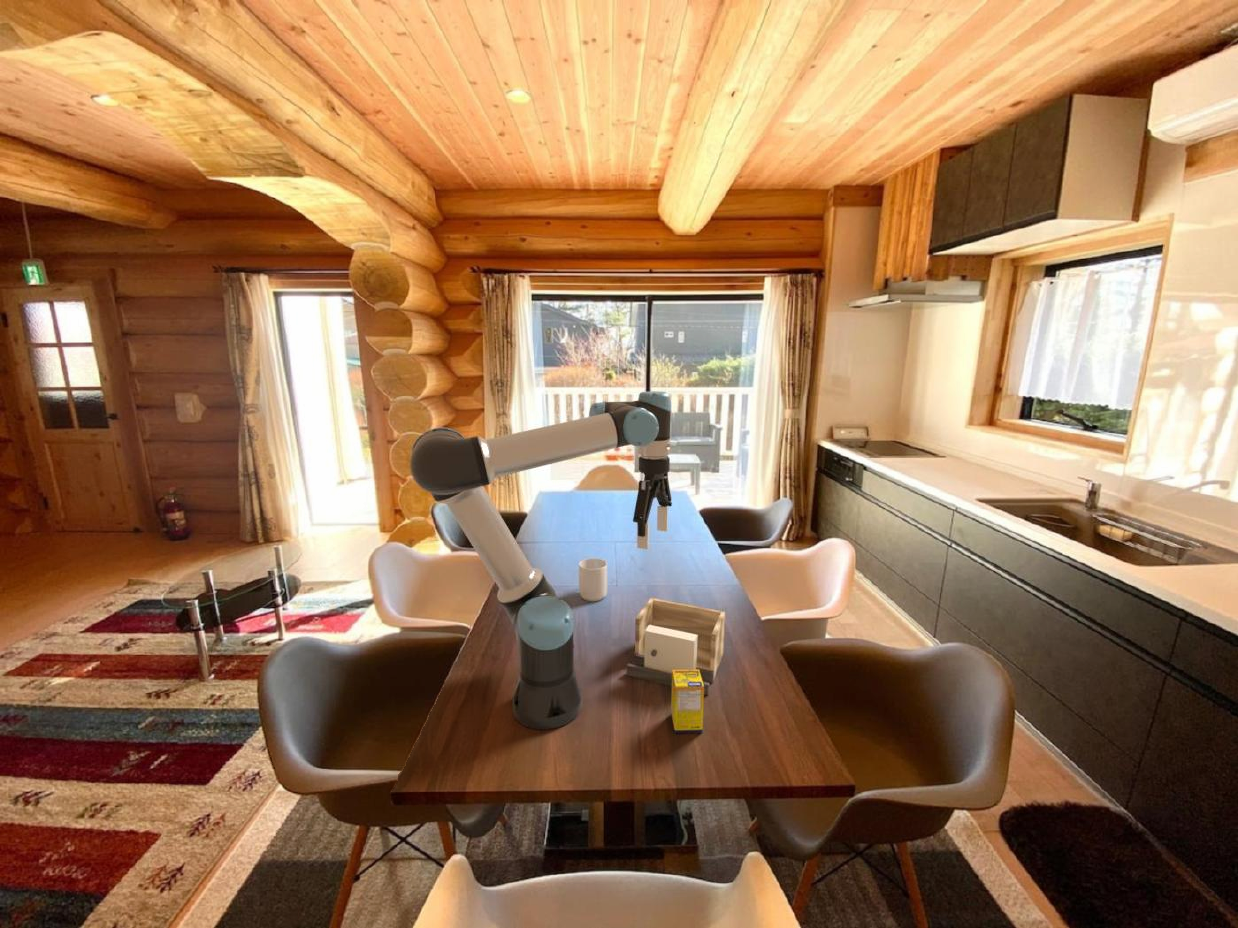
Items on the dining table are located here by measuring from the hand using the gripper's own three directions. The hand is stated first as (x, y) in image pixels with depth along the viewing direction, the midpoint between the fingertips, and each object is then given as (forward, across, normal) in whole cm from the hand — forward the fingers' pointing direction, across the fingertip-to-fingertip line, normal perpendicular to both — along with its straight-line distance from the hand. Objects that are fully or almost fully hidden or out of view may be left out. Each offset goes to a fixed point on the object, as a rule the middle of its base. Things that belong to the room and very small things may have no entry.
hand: (653, 539), depth 130 cm
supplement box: (+31, -23, -17) cm, 42 cm away
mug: (+31, +22, +28) cm, 47 cm away
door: (+31, -10, -8) cm, 33 cm away
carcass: (+31, -3, -8) cm, 32 cm away
